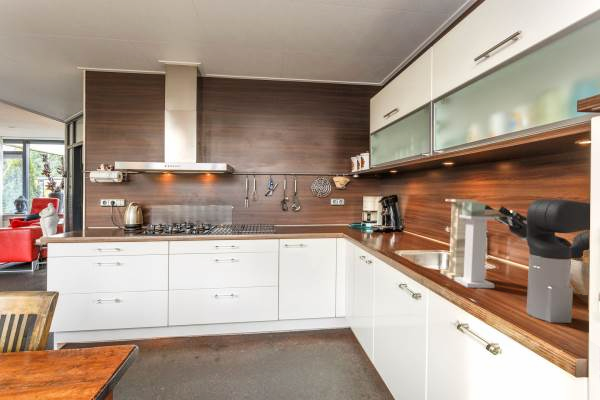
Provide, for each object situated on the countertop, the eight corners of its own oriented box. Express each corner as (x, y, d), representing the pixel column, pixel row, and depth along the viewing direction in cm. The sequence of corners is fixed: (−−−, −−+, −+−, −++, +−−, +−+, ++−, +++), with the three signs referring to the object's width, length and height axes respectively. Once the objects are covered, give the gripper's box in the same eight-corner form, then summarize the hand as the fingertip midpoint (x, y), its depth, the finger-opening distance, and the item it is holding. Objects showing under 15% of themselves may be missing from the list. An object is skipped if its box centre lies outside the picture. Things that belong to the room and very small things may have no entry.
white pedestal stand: (494, 288, 114) (497, 217, 113) (467, 287, 113) (470, 216, 113) (479, 281, 123) (482, 215, 122) (454, 280, 122) (457, 214, 122)
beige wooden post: (476, 279, 125) (479, 200, 124) (451, 279, 124) (455, 199, 123) (463, 273, 134) (466, 199, 133) (440, 273, 133) (443, 198, 132)
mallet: (518, 217, 115) (519, 204, 115) (471, 216, 114) (471, 202, 114) (507, 216, 121) (507, 203, 121) (462, 215, 120) (462, 202, 120)
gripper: (536, 241, 111) (499, 217, 110) (508, 235, 125) (475, 214, 125) (547, 223, 111) (510, 199, 110) (518, 220, 125) (485, 198, 125)
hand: (492, 207), depth 117 cm, fingers open, 8 cm apart
